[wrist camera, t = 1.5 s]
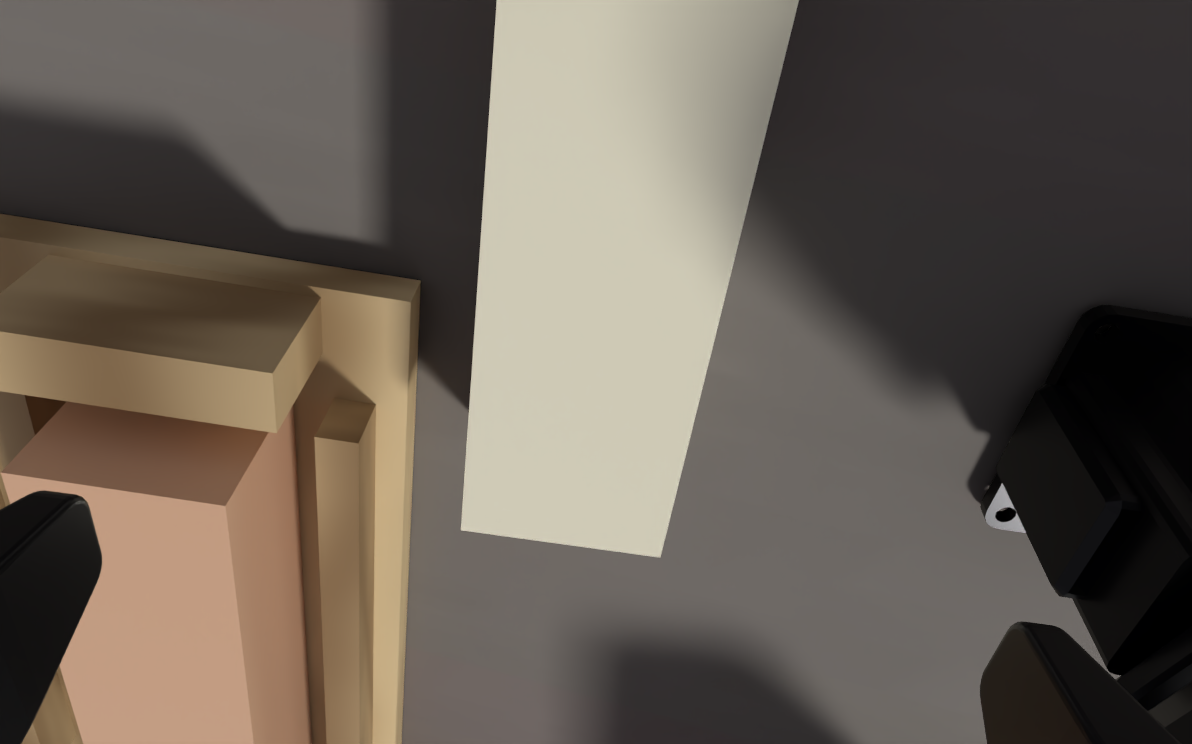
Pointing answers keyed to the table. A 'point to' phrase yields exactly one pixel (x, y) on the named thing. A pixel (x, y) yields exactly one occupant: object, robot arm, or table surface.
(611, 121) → the long ivory plank
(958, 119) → the table surface
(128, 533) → the fired brick
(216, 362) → the rack
